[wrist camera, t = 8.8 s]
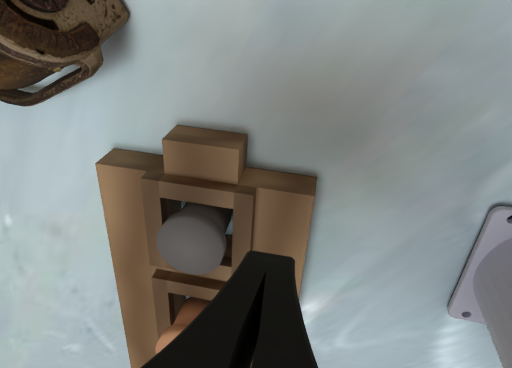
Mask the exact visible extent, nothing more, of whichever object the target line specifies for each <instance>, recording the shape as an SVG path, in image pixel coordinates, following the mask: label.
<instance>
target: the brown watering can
mask: <svg viewBox="0 0 512 368" xmlns="http://www.w3.org/2000/svg"><path fill="white" fill-rule="evenodd" d="M128 17H129V14H128V13H127V11H126V9H125V8H124V6H123V5H122V3H121V2H120V0H0V101H3V102H5V103H9V104H14V105H19V106H33V105H36V104H39V103H42V102H44V101H45V100H47V99H49V98H51V97H53V96H55V95H57V94H59V93H61V92H63V91H65V90H67V89H69V88H71V87H72V86H74V85H76V84H78V83H80V82H82V81H84V80H86V79H88V78H90V77H91V76H93V75H94V74H95V72H96V71H97V70H98V69H99V68H100V67H101V66H102V64H103V57H102V53H101V50H100V46H101V44H102V43H103V42H104V41H105V40H106V39H107V38H109V37H110V36H111V35H112V34H113V33H114V32H115V31H116V30H117V29H118V28H120V27H121V26H122V25H123V24H124V23H126V22H127V19H128ZM73 64H74V65H78V66H81V67H80V68H78V69H77V70H75V71H73V72H71V73H69V74H67V75H65V76H63V77H61V78H60V79H58V80H56V81H55V82H53V83H52V84H50V85H48V86H46V87H44V88H43V89H41V90H40V91H38V92H35V93H30V92H24V91H21V90H18V89H20V88H24V87H28V86H30V85H33V84H35V83H37V82H40V81H41V80H43V79H44V78H46V77H48V76H50V75H52V74H53V73H55V72H59V71H61V69H63V68H64V67H66V66H69V65H73Z"/></svg>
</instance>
